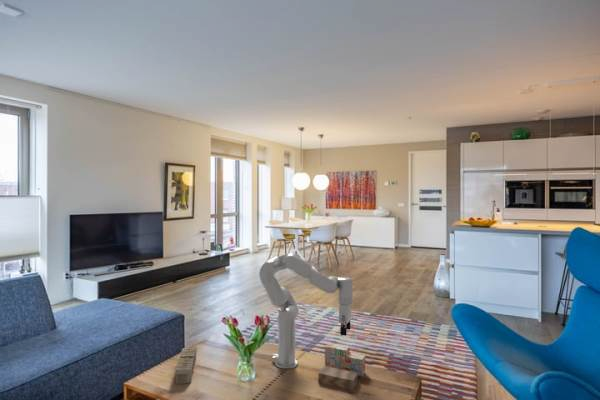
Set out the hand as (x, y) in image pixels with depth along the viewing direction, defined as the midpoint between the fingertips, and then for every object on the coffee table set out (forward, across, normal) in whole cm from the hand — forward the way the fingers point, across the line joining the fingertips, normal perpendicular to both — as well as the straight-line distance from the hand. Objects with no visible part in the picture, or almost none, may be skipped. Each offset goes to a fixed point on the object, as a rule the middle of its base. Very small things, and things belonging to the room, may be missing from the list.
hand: (345, 332), depth 197 cm
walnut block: (+21, +14, -1) cm, 25 cm away
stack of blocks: (+21, 0, 0) cm, 21 cm away
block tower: (+20, +33, -79) cm, 88 cm away
